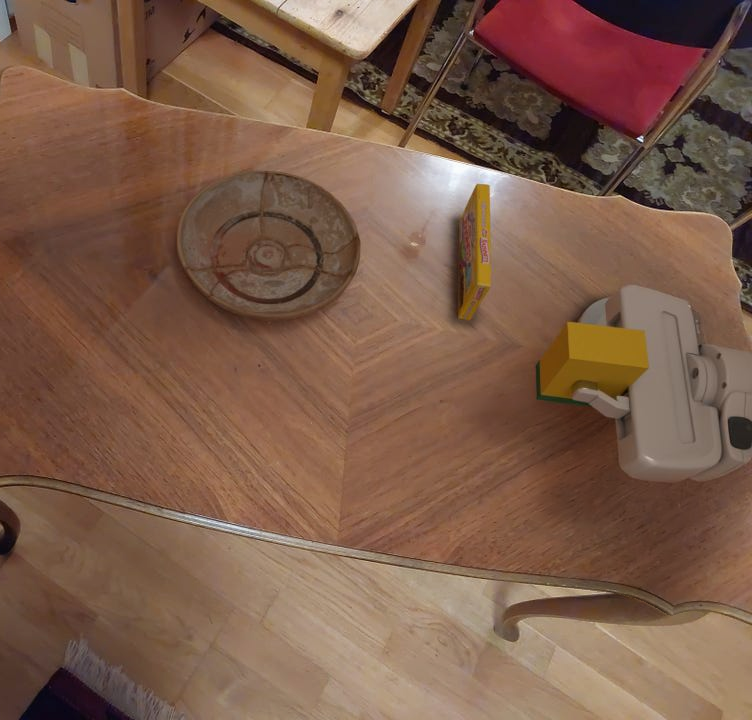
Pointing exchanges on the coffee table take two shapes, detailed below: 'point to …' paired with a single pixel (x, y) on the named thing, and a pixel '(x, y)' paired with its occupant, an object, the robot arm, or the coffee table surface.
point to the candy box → (474, 252)
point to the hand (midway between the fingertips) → (573, 365)
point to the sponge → (591, 361)
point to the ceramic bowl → (268, 245)
